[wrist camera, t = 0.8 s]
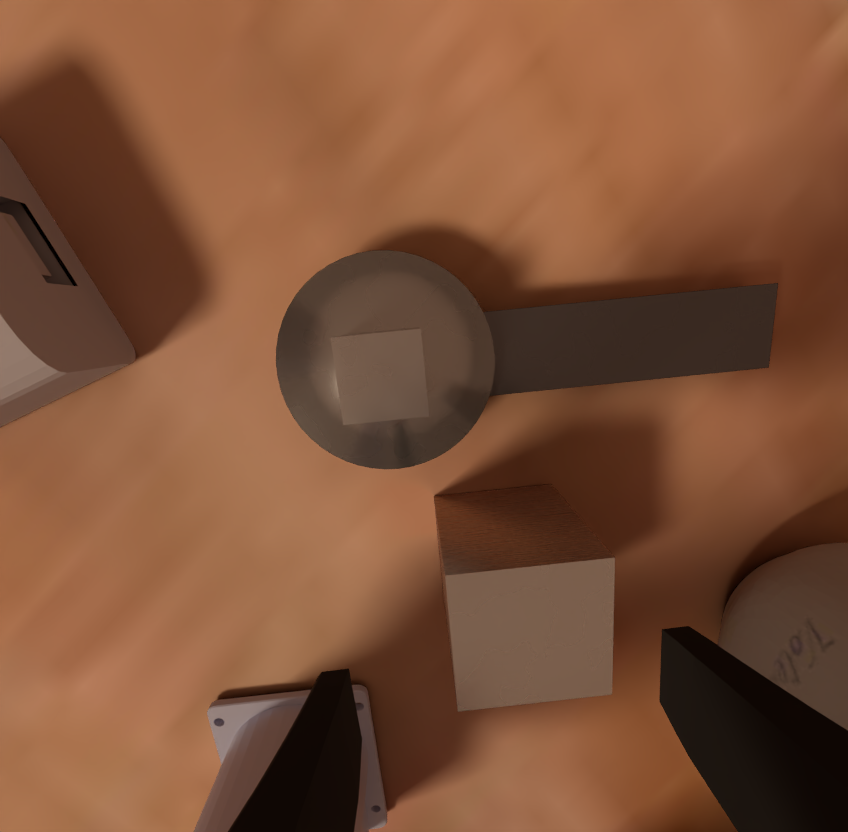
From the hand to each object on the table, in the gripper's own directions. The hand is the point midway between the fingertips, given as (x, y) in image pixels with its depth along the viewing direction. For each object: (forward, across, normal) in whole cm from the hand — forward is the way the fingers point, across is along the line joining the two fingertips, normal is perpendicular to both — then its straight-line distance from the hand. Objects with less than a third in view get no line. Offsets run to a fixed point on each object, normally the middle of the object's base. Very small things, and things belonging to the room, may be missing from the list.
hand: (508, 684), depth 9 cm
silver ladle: (+10, -3, -7) cm, 12 cm away
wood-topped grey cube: (+9, -2, +2) cm, 10 cm away
